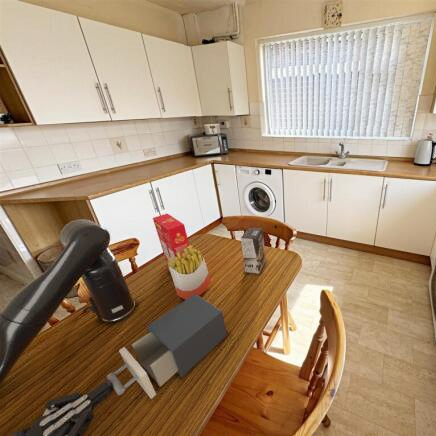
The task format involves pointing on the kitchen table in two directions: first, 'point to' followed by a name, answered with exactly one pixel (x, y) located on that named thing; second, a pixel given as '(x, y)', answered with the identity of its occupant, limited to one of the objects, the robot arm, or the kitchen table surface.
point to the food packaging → (171, 236)
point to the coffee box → (253, 250)
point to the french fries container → (189, 273)
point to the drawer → (146, 365)
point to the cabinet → (190, 331)
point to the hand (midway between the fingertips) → (111, 385)
